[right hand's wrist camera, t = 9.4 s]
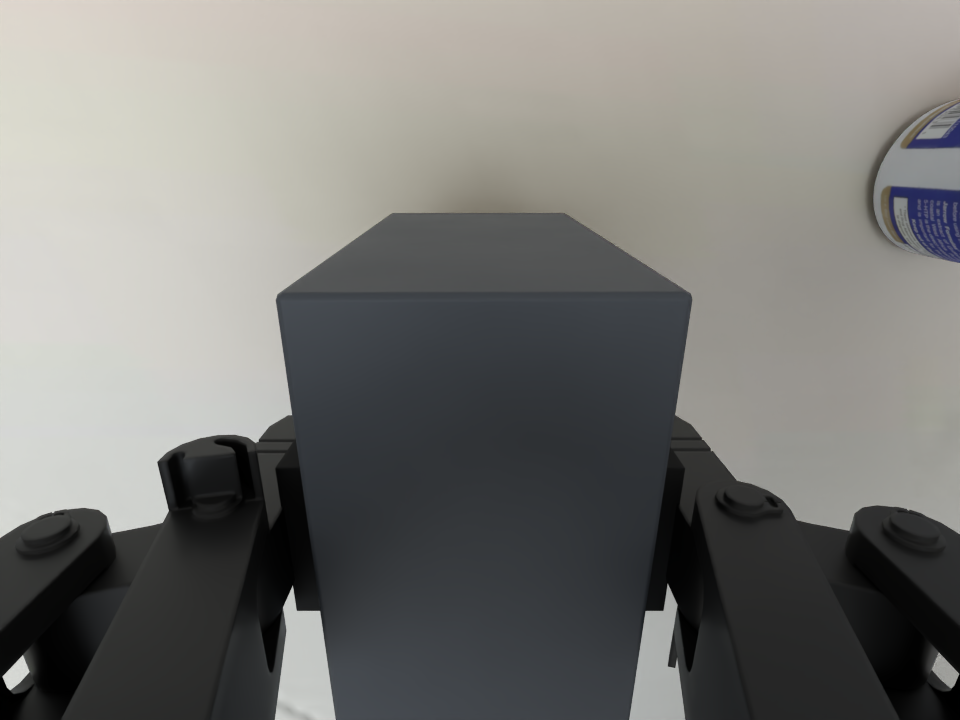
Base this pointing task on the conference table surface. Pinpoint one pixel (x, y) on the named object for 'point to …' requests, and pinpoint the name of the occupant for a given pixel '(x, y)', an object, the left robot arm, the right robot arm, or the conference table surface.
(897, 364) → the conference table surface
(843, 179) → the conference table surface
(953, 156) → the pill bottle
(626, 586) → the bar
